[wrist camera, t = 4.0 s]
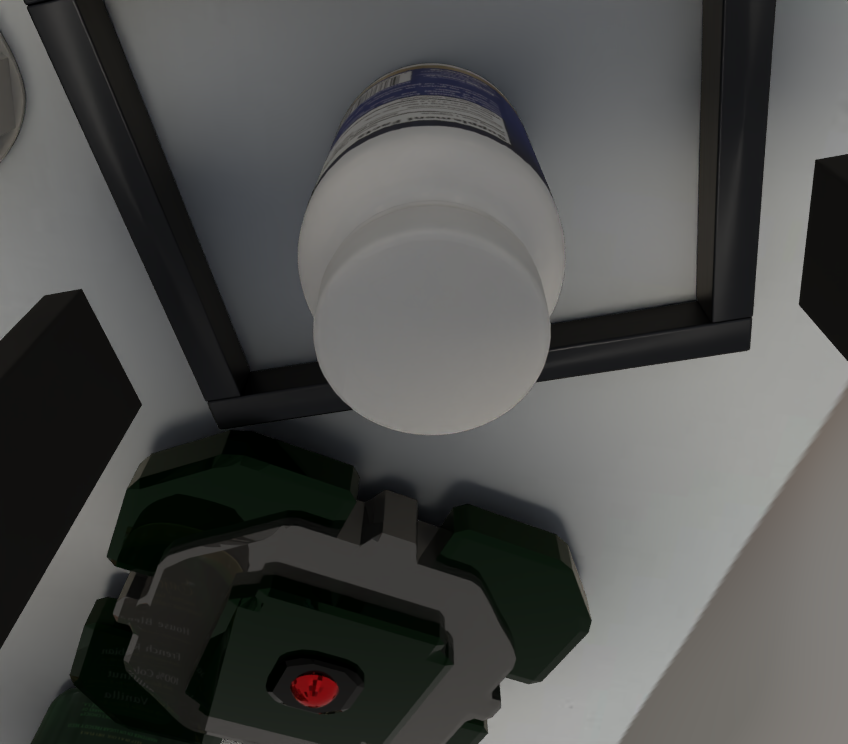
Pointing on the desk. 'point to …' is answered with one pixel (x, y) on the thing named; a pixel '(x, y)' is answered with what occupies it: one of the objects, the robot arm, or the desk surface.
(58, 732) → the coffee jar
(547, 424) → the desk surface
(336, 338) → the pill bottle
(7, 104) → the zipper pull
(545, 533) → the clover-shaped pad
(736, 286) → the black flat square frame
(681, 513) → the desk surface
